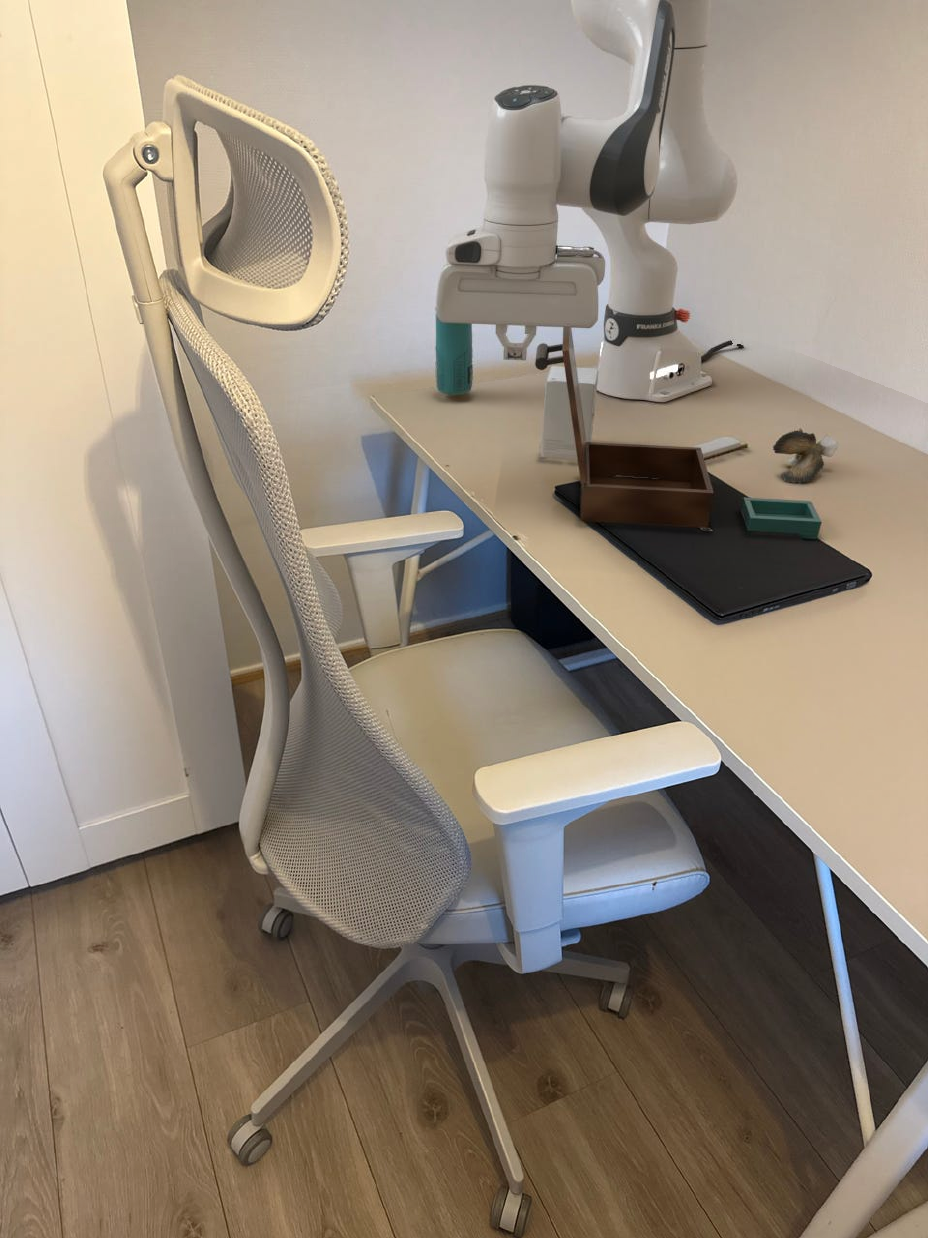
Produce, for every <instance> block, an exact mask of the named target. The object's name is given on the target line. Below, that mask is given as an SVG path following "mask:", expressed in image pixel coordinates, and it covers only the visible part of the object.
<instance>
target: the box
mask: <svg viewBox="0 0 928 1238" xmlns="http://www.w3.org/2000/svg"><path fill="white" fill-rule="evenodd" d="M586 456H587V482H585V483H581V480H580V479H579V483H581V494H580V493H579V494H580V495H581V496H580V495H579V499H580V500H579V501H580V502H579V503H580V504H579V505H580V507H579V508H580V522H597V523H598V522H599V523H600V522H601V523H616V524H617V523H618V524H631V525H633V524H634V525H651V526H667V527H668V526H669V527H672V526H673V527H685V528H708V527H709V523H710V517H711V511H712V506H713V500H714V495H715V493H714V488H713V485H712V482H711V478H710V475H709V471H708V467H707V465H706V464H707V463H706V460H704V457H703V454H702V450H701V448H698V447H693V446H676V445H675V446H674V445H656V444H655V445H654V444H637V443H636V444H635V443H633V444H632V443H615V442H595V441H594V442H593V441H591V442H586ZM616 475H622V476H634V477H648V478H633V477H614V476H616ZM652 478H658V479H652Z"/></svg>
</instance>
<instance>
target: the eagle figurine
mask: <svg viewBox="0 0 928 1238" xmlns="http://www.w3.org/2000/svg"><path fill="white" fill-rule="evenodd" d="M772 450H773V452H774V454H781V455H794V456H793V457H791V458H790V459H789V460H788V461H787V464H786V465H785V467H789V468H787V470H785V471H784V472H782V473H781V474H780V476H781V479H783V481H784V482H787V483H792V484H793V483H794V484H795V483H799V484H801V483H806V482H809V481H811V480H812V479H814V478H815V476H816V475H817V474H818V472H820V471H821V470H822V469H823V468H824V465H825V462H824V459H823V456H824V457H828V458H831V457H833V456H834V455H835V453H836V451H837V450H838V442H837V439H835V438H834V437H833V436H830V435H825V436H824V437H822V439H821V440H820V441H818V442H817V438H816V436H815V433H813V432H812V433H811V432H810V433H808V432H804V431H803V429H802V428H799V429H798V430H797V429H796V430H793V431H789V432H788V433H785V434H783V435H781V437H779V438H778V439H777V441H775V443H774V444H773V446H772ZM790 466H791V467H790Z"/></svg>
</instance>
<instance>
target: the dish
mask: <svg viewBox="0 0 928 1238" xmlns="http://www.w3.org/2000/svg"><path fill="white" fill-rule="evenodd" d="M740 511H741V514H742V517H743V520H744V523H745V526H746V529H747V531H751V532H753V531H754V532H770V533H784V534H785V533H786V534H799V536H800V539H806V540H807V539H808V540H818V537H819V533H820V530H821V526H822V520H821V517H820V516H819V514H818V511H817V509H816V507H815V505H814V503H813V501H812V500H798V499H780V498H779V499H778V498H764V497H763V498H760V497H743V498H742V504H741V507H740Z"/></svg>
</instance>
